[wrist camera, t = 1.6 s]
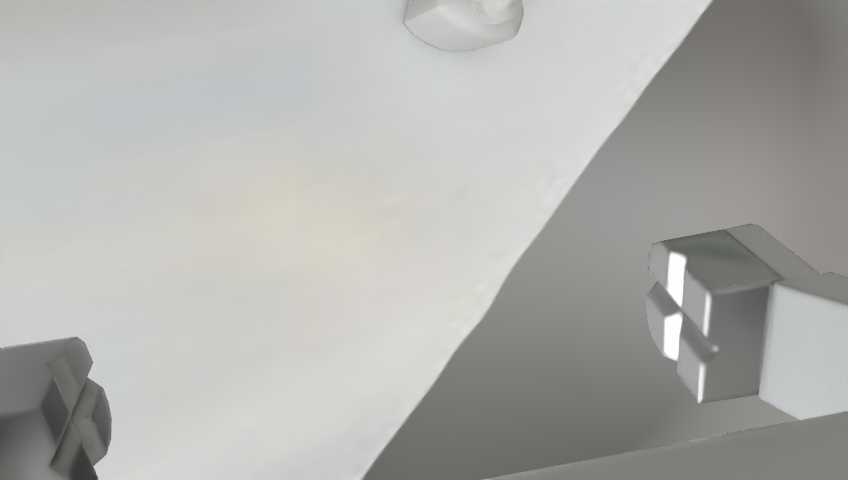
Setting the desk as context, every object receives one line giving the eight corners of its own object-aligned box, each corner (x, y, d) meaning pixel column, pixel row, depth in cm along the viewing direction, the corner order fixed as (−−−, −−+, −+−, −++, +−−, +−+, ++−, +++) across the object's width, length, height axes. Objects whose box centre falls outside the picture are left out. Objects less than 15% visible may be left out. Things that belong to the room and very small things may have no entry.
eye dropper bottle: (436, -31, 51) (506, -76, 39) (490, 32, 52) (571, 6, 41) (392, 14, 50) (450, -18, 39) (447, 76, 52) (518, 62, 40)
